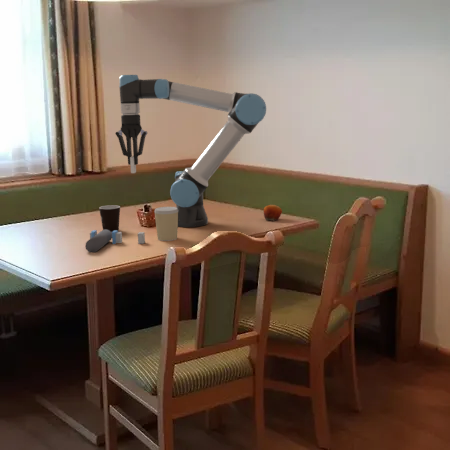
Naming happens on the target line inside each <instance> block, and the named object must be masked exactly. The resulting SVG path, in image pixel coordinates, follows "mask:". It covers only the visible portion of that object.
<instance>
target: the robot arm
mask: <svg viewBox="0 0 450 450" xmlns="http://www.w3.org/2000/svg"><path fill="white" fill-rule="evenodd" d="M118 87H119V97H120V98H119V99H120V113H121V116H120V117H121V127H120V130H118V131H116V132H115V136H116V137H117V139H118V142H119V145H120V149H121V152H122V155H123V156H126V157H127V165H128V166H130V174H136V173H137V165H138V164H139V156H142V155H143V150H144V146H145V140H146V136H147V134H148V131H147V130H146V131H145V130H144V129H143V127H142V124H141V115H140V113H141V110H140V109H141V108H140V100H145V99H146V100H147V99H149V100H150V99H151V100H152V99H154V100H155V99H159V100H161V99H162V100H168V101H173V102H178V103H183V104H187V105H193V106H197V107H202V108H208V109H212V110H216V111H221V112H224V113H225V112H226V113H228V114H227V121H226V123H225V124H223V126H222V127H221V129H220V130H219V131H218V133H217V134H216V135H215V136H214V138H212V140H211V141H210V143H209V144H208V145H207V147H206V148H205V149H204V150H203V152H202V153H201V155H199V157H198V158H197V159H196V161H195V162H194V163H193V165H192V166H191V167H185V168H184V169H183V171H182V170H181V171H176V172H175V175H174V179H175V181H174V182H173V183H172V184H171V186H170V190H169V193H170V194H169V195H170V198H171V200H172V202H173V203H174V205H175V204H176V206H175V207H176V208H177V209H178V227H179V228H180V227H182V228H195V227H203V226H206V225H208V224H209V218H208V215H207V213H206V210H205V207H204V192H205V191H206V189H207V188H208V186H209V180H210V178H211V177H212V176H213V175H214V174H215V172H216V171H217V170H218V169H219V167H220V166H221V165H222V164H223V162H224V161H225V160H226V158H227V157H228V156H229V155H230V154H231V152H232V151H233V150H234V148H235V147H236V146H237V144H238V143H239V142H240V141H241V139H242V138H243V137H244V136H245V135H247V134H251V133H252V132H253V131H254V129H256V127H257V126H258V125H259V123H260V122H262V121H263V119H265V117H266V113H267V105H266V102H265V99H263V98H262V96H261V95H259V94H257V93H250V92H249V93H245V92H244V93H242V92H237V91H234V92H232V93H229V92H224V91H218V90H214V89H209V88H204V87H199V86H195V85H190V84H184V83H179V82H175V81H170V80H168V79H166V78H164V79H163V78H152V79H151V78H150V79H140V78H139V76H138V74H122V75H120V76H119V86H118ZM123 135H124V136H125V140H124V136H123ZM139 135H140V140H139V146H138V136H139ZM125 141H126V143H125ZM132 152H133V153H132Z"/></svg>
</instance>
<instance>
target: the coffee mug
mask: <svg viewBox="0 0 450 450" xmlns="http://www.w3.org/2000/svg"><path fill="white" fill-rule="evenodd" d="M98 210H99V215H100V222H101V226H102V230H104V229H107V230H109V231H111V233H112V232H113V231H114V230H119V231H120V211H121V206H120V205H115V204H113V205H111V204H110V205H102V206H99V208H98Z"/></svg>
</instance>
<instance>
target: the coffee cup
mask: <svg viewBox="0 0 450 450" xmlns="http://www.w3.org/2000/svg"><path fill="white" fill-rule="evenodd" d="M154 220H155V228H156V235H157V237H156V238H157V240H158V241H161V242H170V241H171V242H172V241H177V239H178V233H179V232H178V230H179V229H178V227H179V226H178V209H177V208H176V206H160V207H156V208H155V209H154Z"/></svg>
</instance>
